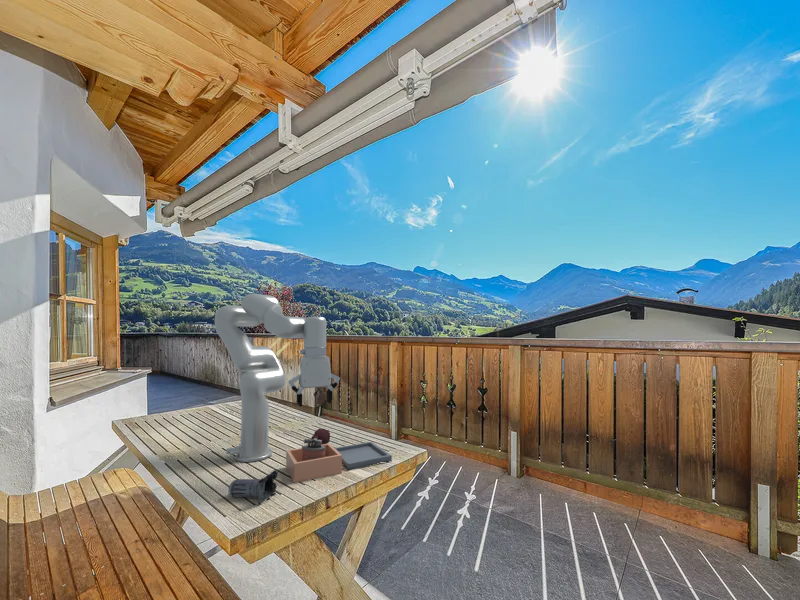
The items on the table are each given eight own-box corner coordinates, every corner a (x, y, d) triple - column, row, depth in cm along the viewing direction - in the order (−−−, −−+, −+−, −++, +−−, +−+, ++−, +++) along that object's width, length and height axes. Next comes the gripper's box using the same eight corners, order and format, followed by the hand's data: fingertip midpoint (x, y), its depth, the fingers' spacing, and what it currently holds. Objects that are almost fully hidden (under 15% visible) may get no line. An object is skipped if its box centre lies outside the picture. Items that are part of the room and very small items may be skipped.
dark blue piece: (277, 499, 96) (239, 498, 98) (279, 468, 98) (242, 468, 100) (258, 508, 87) (217, 507, 90) (261, 475, 90) (221, 474, 92)
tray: (348, 470, 112) (348, 464, 112) (332, 453, 128) (332, 448, 128) (391, 461, 119) (391, 455, 120) (371, 446, 135) (371, 441, 135)
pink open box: (294, 482, 103) (294, 463, 103) (286, 467, 115) (286, 450, 116) (341, 472, 110) (341, 455, 110) (329, 459, 122) (329, 443, 123)
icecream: (318, 424, 146) (302, 438, 131) (334, 420, 145) (319, 433, 130) (322, 440, 146) (307, 455, 131) (338, 436, 144) (324, 451, 130)
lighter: (326, 468, 113) (327, 437, 114) (322, 472, 110) (323, 440, 111) (304, 467, 115) (304, 436, 116) (299, 471, 111) (300, 439, 112)
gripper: (291, 354, 109) (290, 409, 107) (342, 352, 117) (343, 403, 115) (286, 353, 116) (286, 405, 114) (336, 351, 124) (336, 399, 122)
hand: (314, 404), depth 114 cm, fingers open, 9 cm apart
